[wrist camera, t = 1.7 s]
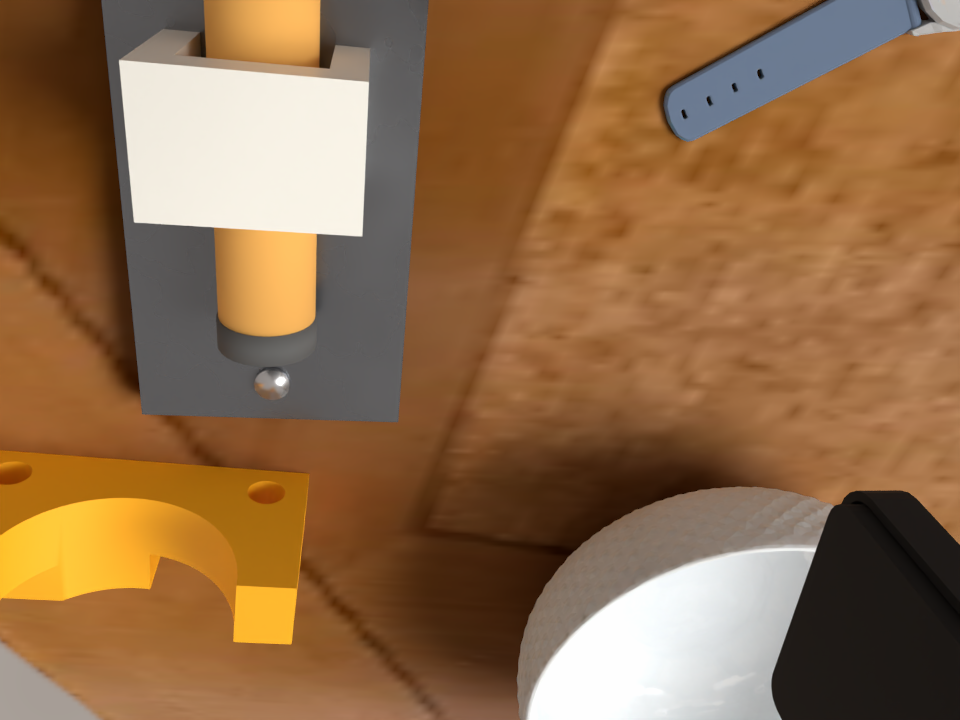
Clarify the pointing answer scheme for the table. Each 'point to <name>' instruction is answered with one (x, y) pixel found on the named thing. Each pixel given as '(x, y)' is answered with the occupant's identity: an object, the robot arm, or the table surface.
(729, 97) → the wristwatch
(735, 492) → the cereal bowl
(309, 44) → the handle
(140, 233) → the mounting plate
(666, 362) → the table surface
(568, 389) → the table surface
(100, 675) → the table surface
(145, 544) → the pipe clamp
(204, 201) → the white u-shaped block
